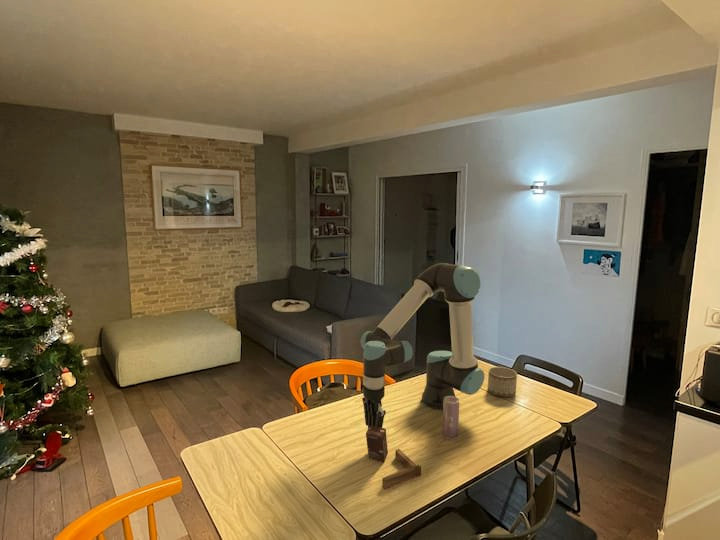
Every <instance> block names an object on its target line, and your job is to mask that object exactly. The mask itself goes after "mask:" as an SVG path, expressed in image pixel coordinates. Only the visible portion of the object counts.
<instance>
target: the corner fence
mask: <svg viewBox="0 0 720 540" xmlns="http://www.w3.org/2000/svg"><path fill="white" fill-rule="evenodd" d="M394 455H395V459H396V460H397V461H398V462H399V463H400V464H401V465H402V466H403V467H404V468H405V469H403V470H401V471H398V472H395V473H392V474H389V475H387V476H384V477H382V479H381V480H382V481H381V482H382V483H381V486H382V488H383V489H384V490H387V489H389V488H392V487H395V486H397V485H400V484H402V483H406V482H408V481H411V480H414V479H416V478H417V477H421V476H422V466H421V465H420V464H416V463H415V462H414V461H413V460H411V458H410V457H408V455H406V454H405V453H404V452H403V451H402V450H401V449H400V448H397V449H395V454H394Z"/></svg>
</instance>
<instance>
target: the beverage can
mask: <svg viewBox="0 0 720 540" xmlns="http://www.w3.org/2000/svg"><path fill="white" fill-rule="evenodd" d="M459 420H460V398H458V397H454V396H446V397H445V398H444V401H443V409H442V426H441V427H442V428H441V429H442V430H441V433H442V436H443V437H444V438H445V439H447V440H456V439H457V438H458V436H459V423H460V421H459Z"/></svg>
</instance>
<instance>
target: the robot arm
mask: <svg viewBox="0 0 720 540" xmlns="http://www.w3.org/2000/svg"><path fill="white" fill-rule="evenodd" d="M480 289H481V278H480V275H479V272H477V270H475V269H474V268H473V267H469V266H466V265H459V264H452V263H447V262H439V263H436V264H433V265H431V266H429V267H428V268H426V269H425V270H424V271H423V272H421V273H420V274H419V275H418V276H417V278H415V280H414V282H413V285H412V287H411V288H410V289H409V290H408V291H407V292H406V293H405V295H404V296H403V297H402V298H400V300H399V301H398V302H397V304H396V305H395V306H394V307H393V308H392V309H391V310H390V312H389V313H388V314H387V315H385V317H384V318H383V319H382V320H381V322H380V323H379V324H378V325H377V327H376V328H375V329H374V330H373V331H372V330H371V331H370V330H367V331H366V332H364V333H363V334H362V336H361V338H360V346H361V347H362V349H363V353H362V356H363V357H362V358H363V360H362V361H363V368H362V369H363V378H362V382H363V386H362V395H363V397H362V398H361V399H362V404H363V413H364V423H365V425H366V427H367V429H368V428H369V425H371V426H378V427H380V428H383V426H384V424H383V423H384V420H385V415H386V414H387V412H386V410H383V408H382V407H383V403H382V400H383V399H384V397H385V392H386V391H385V384H386V383H385V382H386V379H385V378H386V375H385V374H386V368H389V367H391V366H395V365H400V364H404V363H406V362H409V361H410V360H411V359H412V358H413V355H414V350H413V346H412V345H411V343H410V342H409V341H407V340H399V341H396V340H395V341H394V340H393V339H394V338H395V336H396V335H397V334H398V333H399V332H400V330H401V329H402V328H403V327H404V326H405V325H406V323H407V322H408V321H409V320H410V319H411V318H412V316H414V314H415V313H416V312H417V311H418V310H419V308H420V307H421V306H422V304H424V303H425V301H426V300H427V299H428V298H431V297H433V296H434V295H435V294H436V293H437V292H443V295H444V300H445V302H446V303H447V304H448V308H449V310H448V311H449V325H450V328H449V329H450V338H451V340H450V342H451V344H450V345H451V351H449V350H434V351H431V352H429V353H428V354H427V357H426V371H425V372H426V373H425V374H426V381H425V387H424V390H423V392H422V394H421V402H422V404H424V405H425V406H426V407H428V408H430V409H435V410H443V401H444V398H445V397H446V396H454V397H456V394H455V390H456V391H459V392H460V393H462V394H465V395H469V396H471V395H474V394H476V393H478V391H480V389H481V388H482V386H483V384H484V382H485V372H484V371H483V369H482V368H479V363H478V358H477V357H475V356H474V338H473V321H472V320H473V319H472V302H473V301H474V300H475V297H476V296H477V295H478V294H479V292H480V291H479V290H480ZM454 389H455V390H454Z"/></svg>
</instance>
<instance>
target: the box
mask: <svg viewBox="0 0 720 540" xmlns="http://www.w3.org/2000/svg"><path fill="white" fill-rule="evenodd" d="M365 438H366V446H367V456H368V459H371V460H374V461H379V462H382V463H385V461H386V459H387V458H388V457H387V456H388V454H389V451H388V442H387V441H388V440H387V439H388V438H387V429H386V428H384V427H382V428H380V427H378V426H371V425H369V428H368V427H367V430H366V433H365Z"/></svg>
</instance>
